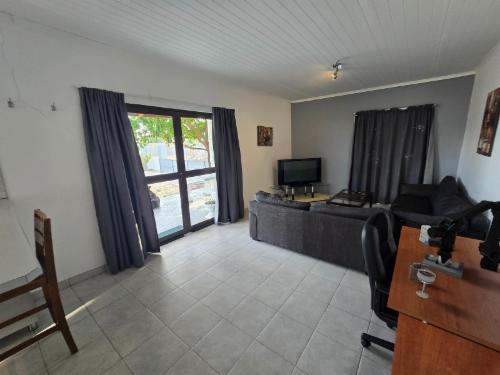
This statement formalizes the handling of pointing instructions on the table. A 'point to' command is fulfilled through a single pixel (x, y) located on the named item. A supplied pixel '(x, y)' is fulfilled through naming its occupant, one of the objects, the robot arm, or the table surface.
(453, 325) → the table surface
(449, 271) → the shaft mount
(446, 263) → the coupler
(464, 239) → the table surface
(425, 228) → the ink box
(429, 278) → the wineglass
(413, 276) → the grey box
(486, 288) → the table surface
